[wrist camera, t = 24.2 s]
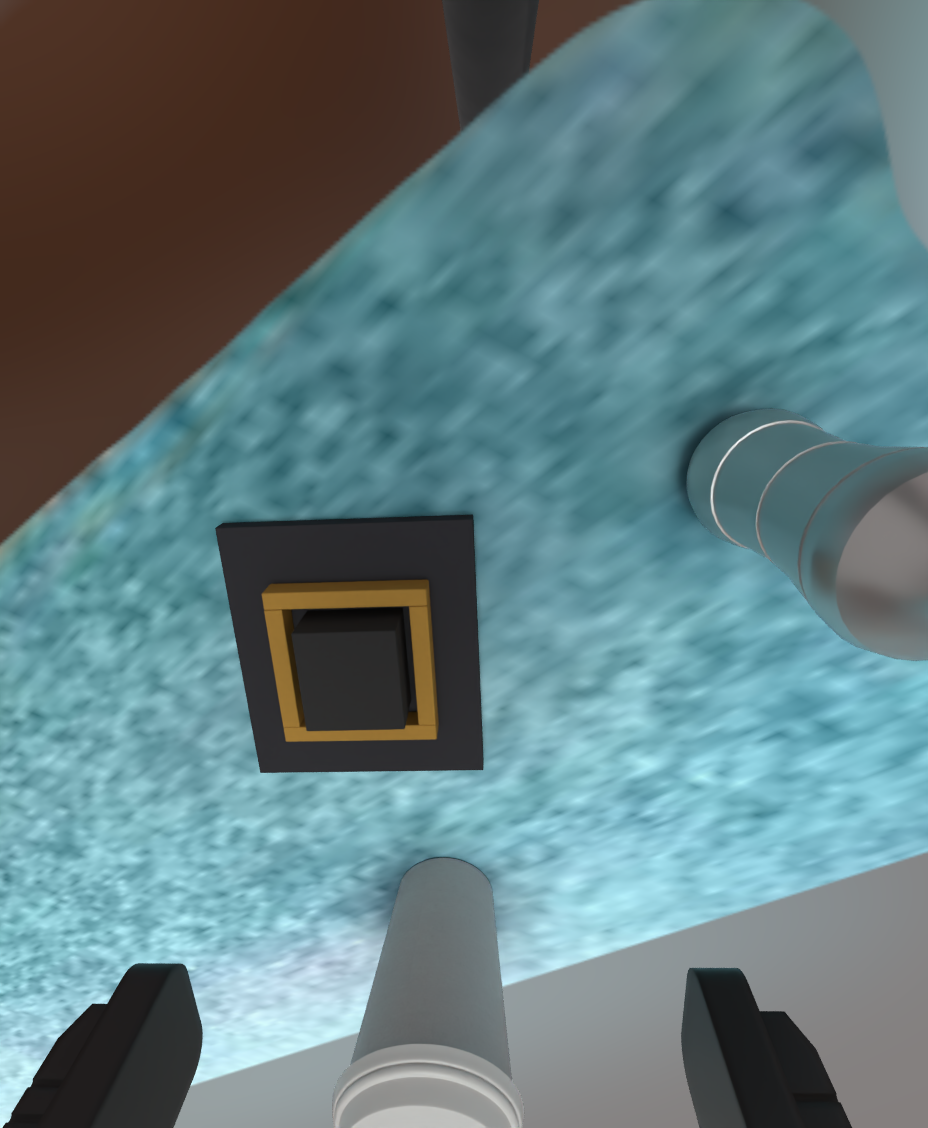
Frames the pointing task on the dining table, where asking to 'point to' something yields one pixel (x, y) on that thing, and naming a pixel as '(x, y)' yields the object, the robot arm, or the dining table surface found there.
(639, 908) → the dining table surface
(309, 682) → the black block
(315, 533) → the base pad
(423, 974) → the coffee cup
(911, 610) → the plastic bottle
